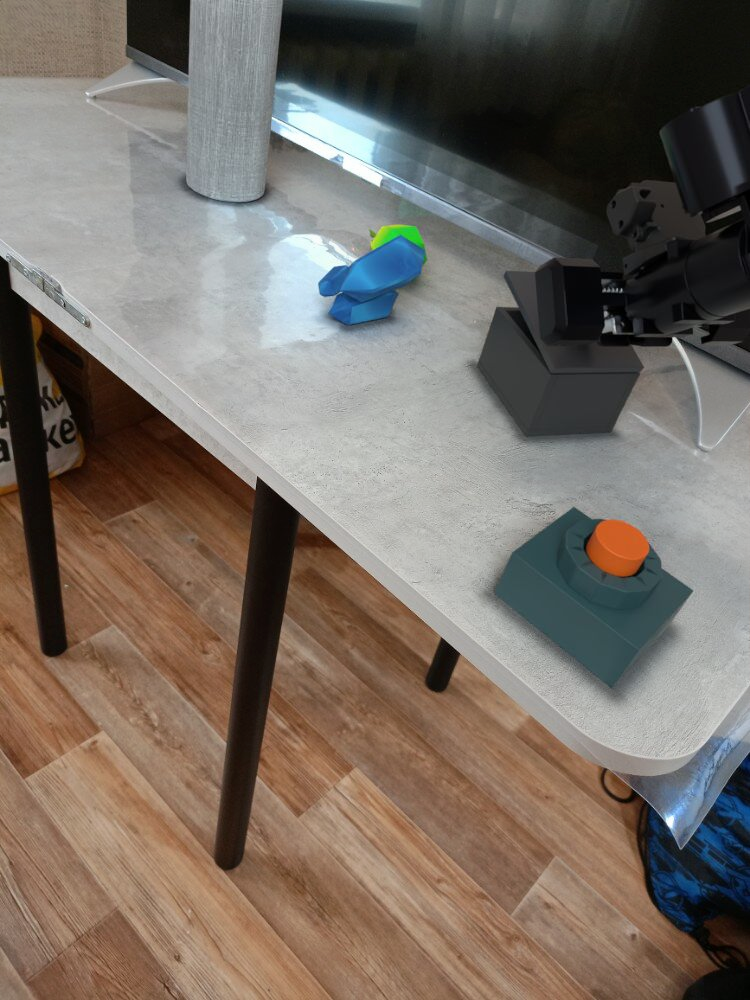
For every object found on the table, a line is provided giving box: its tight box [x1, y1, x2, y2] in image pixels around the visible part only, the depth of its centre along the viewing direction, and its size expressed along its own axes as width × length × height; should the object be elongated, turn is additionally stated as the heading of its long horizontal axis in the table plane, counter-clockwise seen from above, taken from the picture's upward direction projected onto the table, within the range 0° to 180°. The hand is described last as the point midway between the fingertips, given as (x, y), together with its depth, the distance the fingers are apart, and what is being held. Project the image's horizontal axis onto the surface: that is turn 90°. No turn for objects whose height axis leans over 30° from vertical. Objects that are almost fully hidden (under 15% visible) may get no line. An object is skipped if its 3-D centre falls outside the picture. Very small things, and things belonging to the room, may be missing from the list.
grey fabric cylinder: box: [185, 0, 284, 203], centre depth 88 cm, size 10×10×27 cm
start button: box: [586, 519, 650, 577], centre depth 49 cm, size 4×4×2 cm
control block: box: [493, 506, 694, 689], centre depth 52 cm, size 10×8×6 cm
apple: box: [368, 223, 428, 268], centre depth 87 cm, size 7×6×9 cm
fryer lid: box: [503, 270, 645, 373], centre depth 69 cm, size 12×9×1 cm
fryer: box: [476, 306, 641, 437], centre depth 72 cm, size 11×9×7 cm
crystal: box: [317, 235, 426, 326], centre depth 77 cm, size 7×9×12 cm
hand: (582, 330), depth 67 cm, fingers closed, pressing on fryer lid
